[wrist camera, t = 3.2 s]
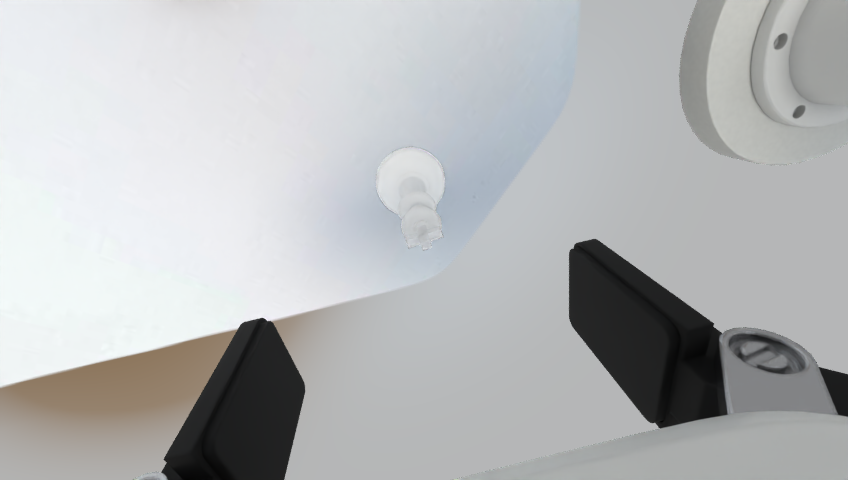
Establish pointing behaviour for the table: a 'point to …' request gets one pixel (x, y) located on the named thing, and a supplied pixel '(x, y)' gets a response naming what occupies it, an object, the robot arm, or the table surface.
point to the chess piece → (413, 193)
